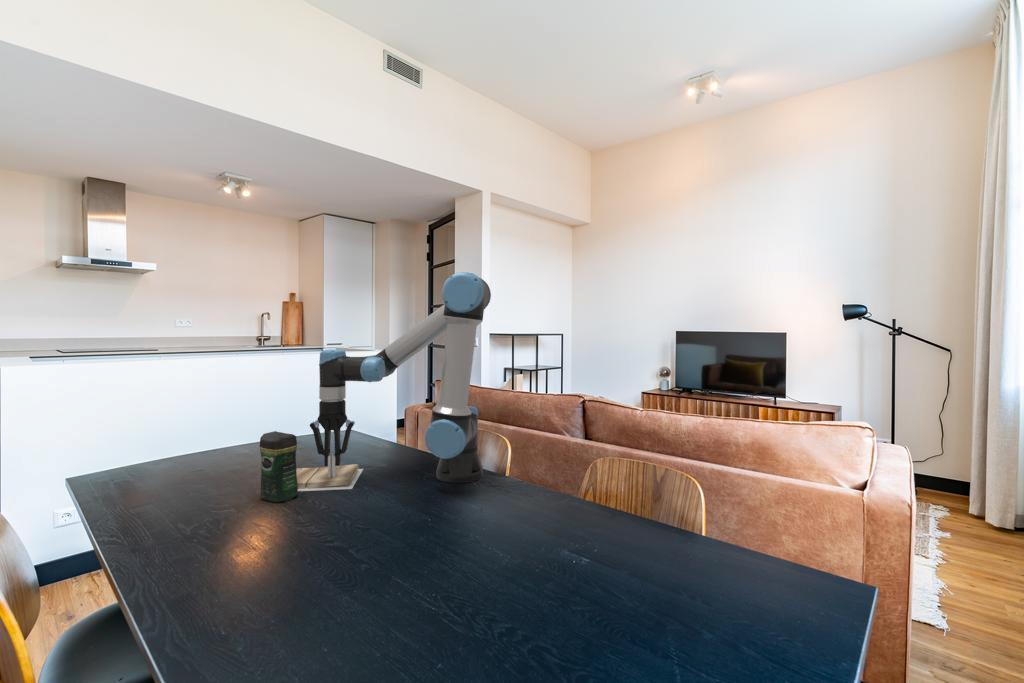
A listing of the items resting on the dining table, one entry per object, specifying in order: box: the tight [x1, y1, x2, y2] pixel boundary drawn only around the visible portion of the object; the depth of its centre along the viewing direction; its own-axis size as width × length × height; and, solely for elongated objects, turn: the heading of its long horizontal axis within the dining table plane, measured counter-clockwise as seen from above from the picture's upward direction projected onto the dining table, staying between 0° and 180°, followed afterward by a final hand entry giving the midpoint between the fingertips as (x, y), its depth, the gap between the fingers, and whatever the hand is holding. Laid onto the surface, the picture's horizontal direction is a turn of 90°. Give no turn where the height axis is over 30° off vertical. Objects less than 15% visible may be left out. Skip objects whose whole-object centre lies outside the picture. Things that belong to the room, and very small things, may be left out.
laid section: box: [296, 467, 320, 489], centre depth 145 cm, size 11×16×2 cm
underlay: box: [298, 468, 364, 492], centre depth 147 cm, size 25×20×1 cm
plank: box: [307, 463, 359, 488], centre depth 147 cm, size 12×16×2 cm
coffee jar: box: [259, 430, 299, 503], centre depth 131 cm, size 10×8×19 cm
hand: (332, 476), depth 143 cm, fingers closed, pressing on plank
